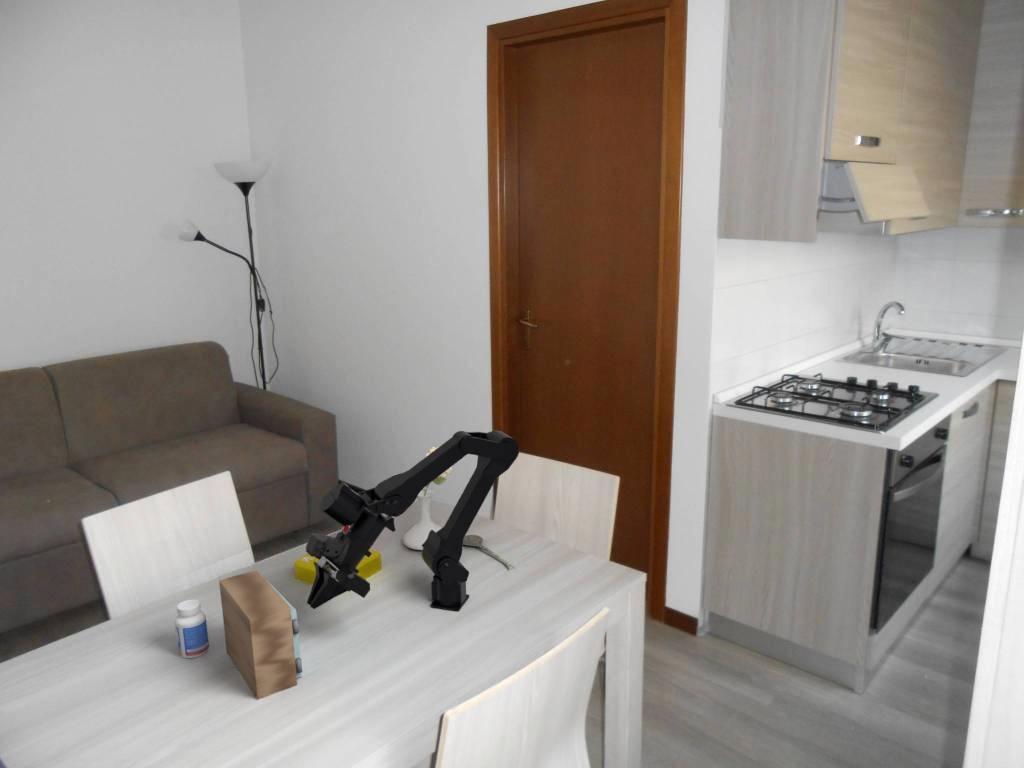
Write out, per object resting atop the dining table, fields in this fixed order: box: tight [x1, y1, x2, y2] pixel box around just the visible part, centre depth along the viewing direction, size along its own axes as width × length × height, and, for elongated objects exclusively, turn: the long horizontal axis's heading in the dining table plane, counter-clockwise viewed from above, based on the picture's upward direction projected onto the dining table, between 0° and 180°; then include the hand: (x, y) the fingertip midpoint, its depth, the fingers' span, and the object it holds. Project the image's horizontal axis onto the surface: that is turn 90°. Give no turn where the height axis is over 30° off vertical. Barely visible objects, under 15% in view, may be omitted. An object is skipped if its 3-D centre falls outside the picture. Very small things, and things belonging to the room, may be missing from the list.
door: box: [266, 580, 303, 679], centre depth 145 cm, size 15×2×13 cm, turn 37°
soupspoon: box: [463, 534, 516, 571], centre depth 190 cm, size 22×3×7 cm
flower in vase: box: [402, 446, 453, 551], centre depth 194 cm, size 13×11×25 cm
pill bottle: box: [174, 599, 210, 659], centre depth 149 cm, size 6×5×10 cm
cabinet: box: [218, 569, 298, 700], centre depth 143 cm, size 7×18×15 cm, turn 36°
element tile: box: [293, 548, 383, 586], centre depth 181 cm, size 15×15×5 cm
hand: (310, 606), depth 152 cm, fingers closed
